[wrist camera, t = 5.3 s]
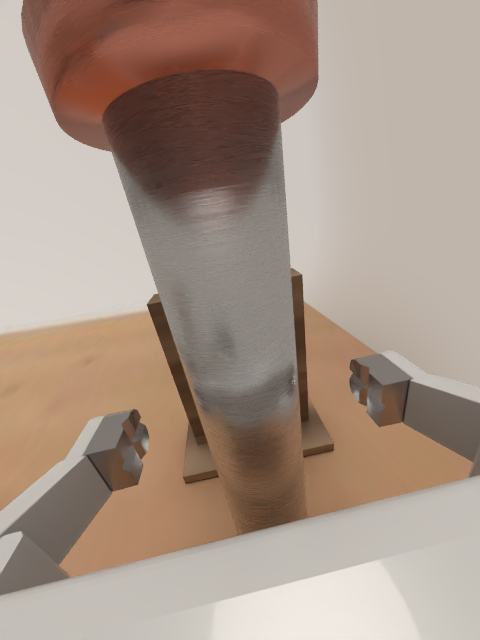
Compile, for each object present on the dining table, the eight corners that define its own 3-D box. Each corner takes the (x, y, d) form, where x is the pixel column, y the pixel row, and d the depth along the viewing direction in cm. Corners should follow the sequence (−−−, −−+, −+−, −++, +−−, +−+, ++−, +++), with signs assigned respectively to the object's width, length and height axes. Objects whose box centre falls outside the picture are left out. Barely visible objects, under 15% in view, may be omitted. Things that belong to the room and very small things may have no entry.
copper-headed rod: (343, 592, 11) (400, -125, 3) (233, 620, 11) (-116, -63, 2) (271, 390, 25) (241, 161, 16) (220, 401, 25) (161, 175, 16)
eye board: (333, 449, 18) (336, 281, 12) (185, 483, 18) (115, 324, 12) (301, 390, 25) (294, 259, 19) (192, 413, 24) (148, 287, 18)
